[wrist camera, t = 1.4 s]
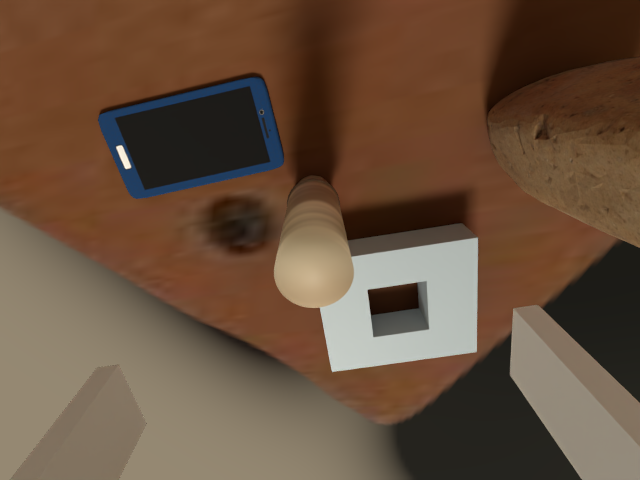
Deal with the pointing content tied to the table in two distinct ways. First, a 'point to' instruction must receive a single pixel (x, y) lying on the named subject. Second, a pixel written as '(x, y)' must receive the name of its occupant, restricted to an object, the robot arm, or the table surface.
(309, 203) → the peg
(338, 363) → the board
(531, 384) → the robot arm
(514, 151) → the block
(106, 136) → the cell phone
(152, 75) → the table surface
